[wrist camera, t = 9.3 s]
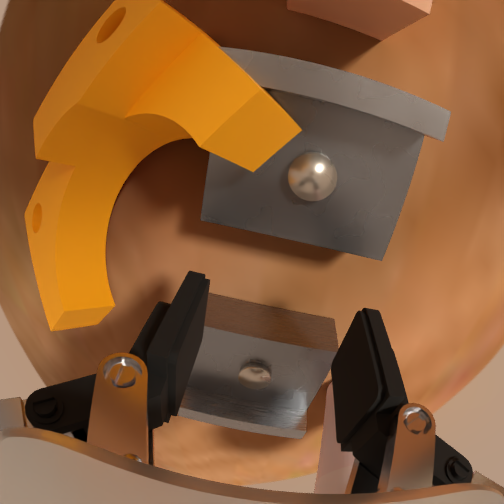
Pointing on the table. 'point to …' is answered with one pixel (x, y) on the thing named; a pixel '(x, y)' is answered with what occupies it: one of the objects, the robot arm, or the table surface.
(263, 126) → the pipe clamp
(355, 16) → the peach two-stud bar
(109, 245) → the table surface
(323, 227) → the book ends
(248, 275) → the table surface
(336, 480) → the pink drink cup
